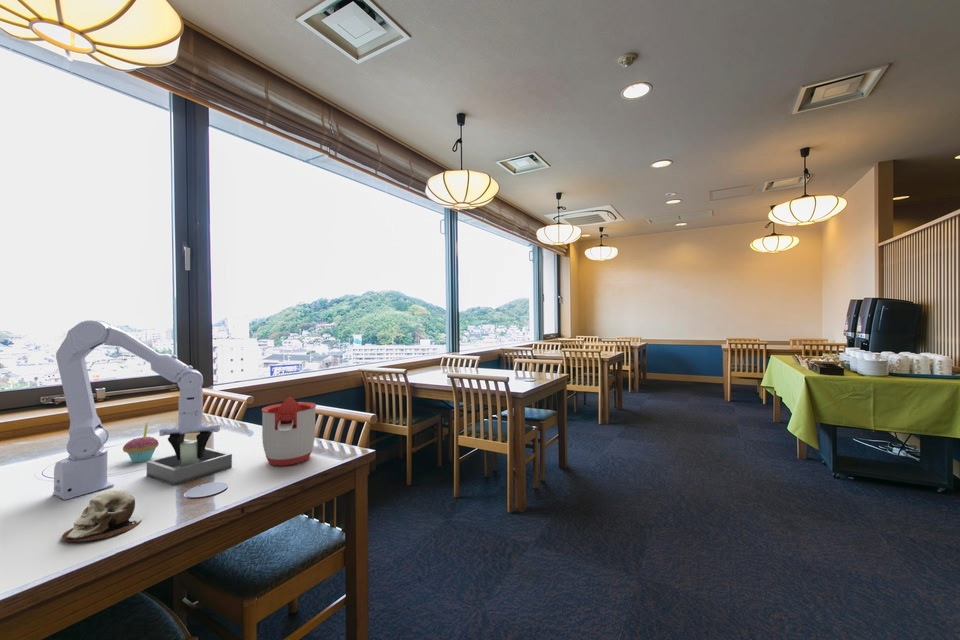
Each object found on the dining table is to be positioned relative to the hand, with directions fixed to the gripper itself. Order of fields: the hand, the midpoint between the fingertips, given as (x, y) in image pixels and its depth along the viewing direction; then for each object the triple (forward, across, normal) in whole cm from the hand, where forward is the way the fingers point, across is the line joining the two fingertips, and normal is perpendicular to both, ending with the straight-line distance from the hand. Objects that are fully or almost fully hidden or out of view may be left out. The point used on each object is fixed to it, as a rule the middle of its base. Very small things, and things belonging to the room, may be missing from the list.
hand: (190, 458), depth 114 cm
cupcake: (+4, -19, +16) cm, 25 cm away
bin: (+4, 0, 0) cm, 4 cm away
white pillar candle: (+2, 0, 0) cm, 2 cm away
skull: (+4, -4, -32) cm, 33 cm away
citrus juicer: (+4, +26, +1) cm, 27 cm away
